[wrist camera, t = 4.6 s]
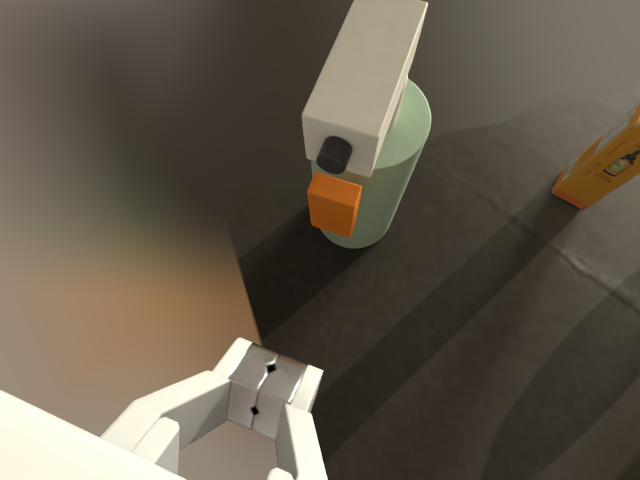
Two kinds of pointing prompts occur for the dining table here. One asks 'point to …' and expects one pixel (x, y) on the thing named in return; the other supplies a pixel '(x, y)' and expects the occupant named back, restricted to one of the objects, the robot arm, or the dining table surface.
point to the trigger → (333, 204)
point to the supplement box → (603, 164)
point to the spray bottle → (370, 112)
